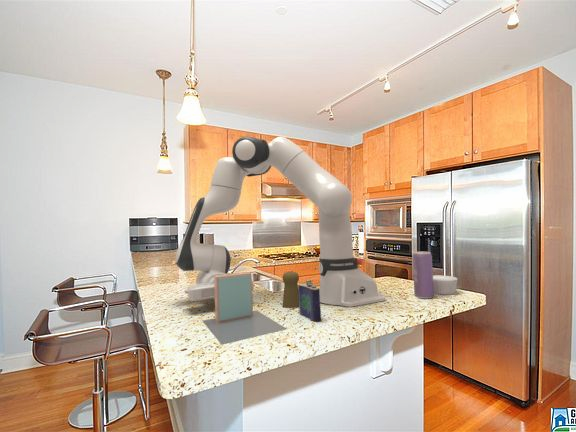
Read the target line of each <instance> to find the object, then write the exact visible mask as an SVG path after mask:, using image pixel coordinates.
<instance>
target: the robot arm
mask: <svg viewBox="0 0 576 432" xmlns="http://www.w3.org/2000/svg"><path fill="white" fill-rule="evenodd" d="M231 153H232V154H231V155H232V157H231V156H226V157H225V156H224V157H221V158H220V159H219V160H218V161H217V162H216V165H215V167H214V171H213V173H212V177H211V182H210V185H209V190H208V192H207V193H206V195H205V196H203V197H199V199H198V200H197V201H196V204H195V206H194V208H193V211H192V214H191V216H190V218H189V221H188V224H187V227H186V229H185V231H184V234H183V237H182V240H181V242H180V245H179V247H178V248H177V250H176V253H175V265H176V266H177V267H178V268H179V269H180V270H181V271H183V272H193V271H194V272H195V271H199V272H198V273H197V274H196V275H197V276H196V277H195V278H196V279H195V284H190V285H188V287H187V288H186V289H184V293H185V294H187V295H188V300H189V301H192V302H195V301H201V300H202V301H203V300H207V299H210V300H212V301H215V288H214V276H219V275H228V274H229V271H230V267H231V254H230V252H229V250H228V248H227V247H226V246H225V245H220V244H207V243H200V242H196V241H197V238H198V235H199V233H200V231H201V228H202V225H203V222H204V221H206V219H207V218H209V217H210V216H214V215H218V214H222V213H227V212H229V211H231V210H233V209H235V208H236V207H237V206H238V204H239V202H240V198H241V194H242V187H243V183H244V179H245V178H246V177H249V178H250V177H254V176H255V177H256V176H262V175H264V174H267V173H268V172H269V171H270V170H271V168H272V167H274V168H275V169H276V170H277V171H279V173H280V174H282V175H283V177H284V178H286V179H287V180H288V182H290V183H291V184H292V185H293V186H294V187H295V188H296V189H297V190H298V191H300V193H302V194H303V195H304V196H305V197H306V198H307V199H309V201H310V202H312V203H313V204H314V205H315V206H316V207H317V209H318V211H317V212H318V231H319V235H318V236H319V252H320V254H319V257H320V258H318V271H319V275H320V277H319V278H320V279H319V287H318V288H319V291H320V292H319V294H320V303H323V304H325V305H333V306H334V305H335V306H343V307H346V308H347V307H351V308H352V307H357V306H362V305H367V304H373V303H378V302H383V301H386V299H387V298H386V296H385V295H384V294H382V293H381V292H379V290H378V286H377V282H376V280H375V279H374V278H372V276H370V275H368V274H367V273H366V272H364V270H362V269H361V268H359V266H363V265H364V264H365V261H364V260H365V259H362V258H356V257H354V250H353V233H352V226H351V215H350V208H351V206H352V203H353V196H352V193H351V191H350V189H349V187H347V186H346V184H345V185H344V183H342V182H341V181H340V180H339V179H337V177H336V176H333V175H332V174H331V173H330V172H329V171H327V170H326V169H324V168H323V166H321V165H320V164H318V162H316V160H314V159H313V158H312V157H311V156H310V155H309V154H308V153H307V152H306V151H305V150H304V149H302V148H301V147H300V146H299V145H298V144H296V143H295V142H293V141H292V140H289V139H288V138H287V137H285V136H277V137H275V138H274V139H272V140H271V141H270V142H269V143H268V142H267V141H266V140H265V139H261V138H257V137H254V136H243V137H239V138H238V139H237V140H236V141H235V142H234V144H233V146H232V150H231ZM254 286H255V285H254V281H253V279H252V292H254Z"/></svg>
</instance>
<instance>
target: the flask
mask: <svg viewBox="0 0 576 432" xmlns="http://www.w3.org/2000/svg"><path fill="white" fill-rule="evenodd" d="M313 281H314V280H313V279H312V278H311V279H307V280H305V283H299V284H298V289H299V307H298V309H299V310H298V311H299V315H300V316H302V317H305V318H306V319H307V318H308V319H309V320H310V321H311V322H313V323H320V322H322V313H321V302H320V294H319V292H320V291H319V288H320V287H318V286H316V285H314V282H313Z"/></svg>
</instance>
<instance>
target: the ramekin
mask: <svg viewBox="0 0 576 432" xmlns="http://www.w3.org/2000/svg"><path fill="white" fill-rule="evenodd" d="M458 280H459V279H458V277H455V276H452V275H451V276H450V275H440V274H439V275H434V274H433V285H434V295H443V296H449V295H451V296H452V295H454V294H455V293H456V292H457V287H458V286H457V284H458V282H459V281H458Z"/></svg>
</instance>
